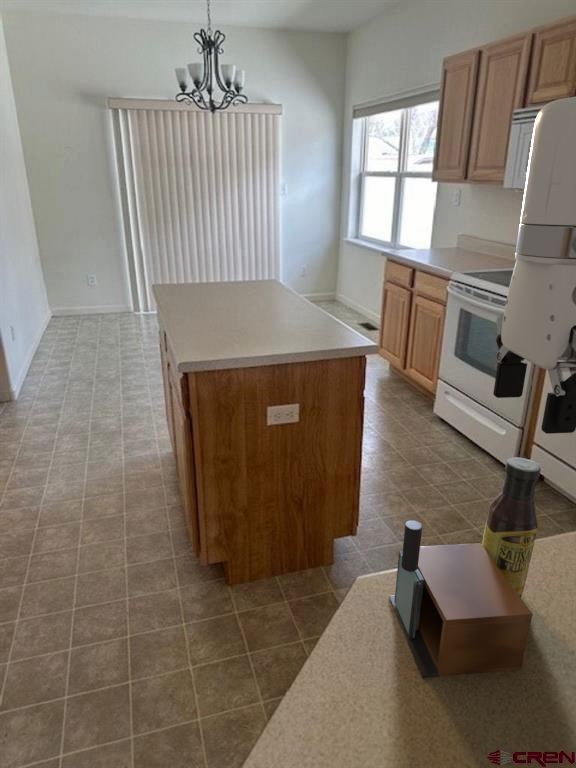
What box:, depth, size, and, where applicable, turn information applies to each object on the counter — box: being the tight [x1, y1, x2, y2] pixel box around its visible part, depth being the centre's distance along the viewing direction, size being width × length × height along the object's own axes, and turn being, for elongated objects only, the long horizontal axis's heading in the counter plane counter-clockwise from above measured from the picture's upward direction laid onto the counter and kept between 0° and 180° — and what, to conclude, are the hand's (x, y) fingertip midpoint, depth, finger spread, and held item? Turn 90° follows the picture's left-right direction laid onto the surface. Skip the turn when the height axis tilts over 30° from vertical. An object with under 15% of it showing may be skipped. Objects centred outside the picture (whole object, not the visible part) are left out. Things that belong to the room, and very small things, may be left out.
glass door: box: [394, 520, 423, 639], centre depth 66 cm, size 2×6×14 cm, turn 6°
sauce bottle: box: [481, 457, 541, 598], centre depth 71 cm, size 6×6×20 cm
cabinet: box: [388, 542, 533, 679], centre depth 66 cm, size 12×13×8 cm
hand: (530, 412), depth 56 cm, fingers open, 9 cm apart
